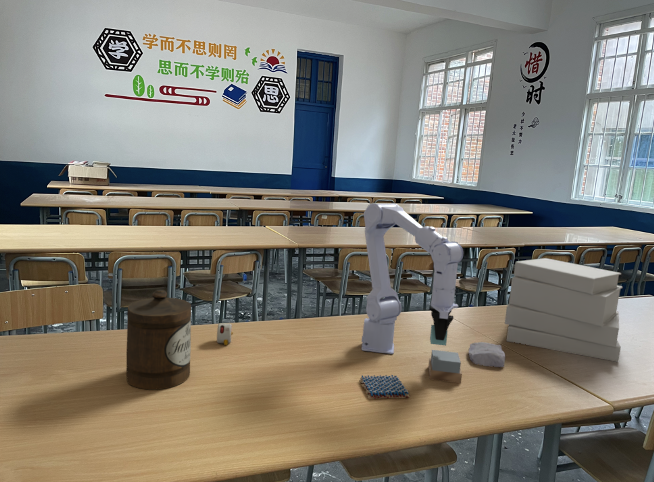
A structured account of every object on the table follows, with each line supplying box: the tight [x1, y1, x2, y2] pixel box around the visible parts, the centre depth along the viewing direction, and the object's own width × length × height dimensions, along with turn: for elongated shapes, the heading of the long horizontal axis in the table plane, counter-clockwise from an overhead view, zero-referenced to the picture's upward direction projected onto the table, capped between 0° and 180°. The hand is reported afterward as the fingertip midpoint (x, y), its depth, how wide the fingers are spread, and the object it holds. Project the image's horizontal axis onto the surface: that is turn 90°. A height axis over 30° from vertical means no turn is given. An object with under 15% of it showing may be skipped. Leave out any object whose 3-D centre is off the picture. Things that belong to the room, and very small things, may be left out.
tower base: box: [428, 357, 463, 384], centre depth 131 cm, size 8×8×3 cm
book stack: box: [504, 257, 623, 363], centre depth 162 cm, size 30×35×26 cm
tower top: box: [430, 349, 462, 374], centre depth 130 cm, size 7×7×3 cm
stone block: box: [468, 341, 506, 368], centre depth 144 cm, size 12×5×10 cm
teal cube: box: [429, 324, 449, 346], centre depth 129 cm, size 4×4×4 cm
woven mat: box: [359, 374, 410, 400], centre depth 120 cm, size 10×11×2 cm
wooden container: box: [125, 289, 192, 391], centre depth 117 cm, size 15×15×22 cm
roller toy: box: [216, 322, 234, 346], centre depth 143 cm, size 4×6×6 cm
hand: (439, 336), depth 129 cm, fingers closed on teal cube, 4 cm apart
